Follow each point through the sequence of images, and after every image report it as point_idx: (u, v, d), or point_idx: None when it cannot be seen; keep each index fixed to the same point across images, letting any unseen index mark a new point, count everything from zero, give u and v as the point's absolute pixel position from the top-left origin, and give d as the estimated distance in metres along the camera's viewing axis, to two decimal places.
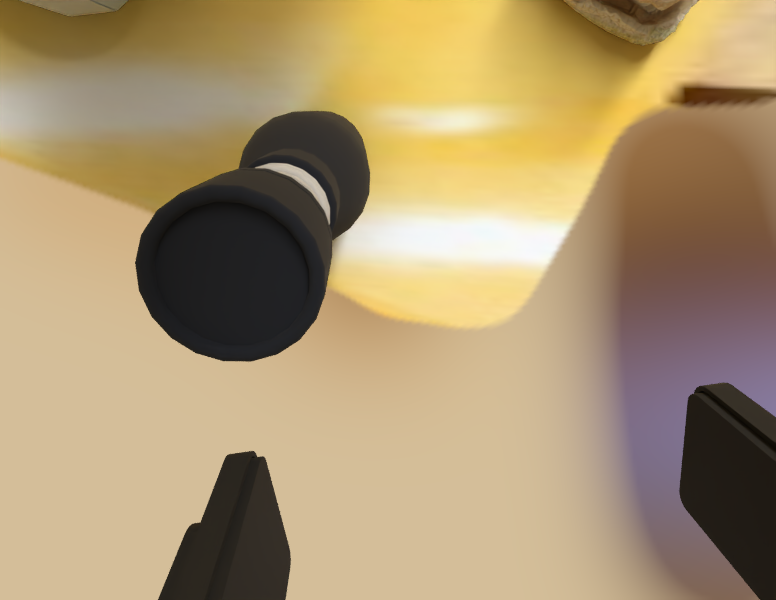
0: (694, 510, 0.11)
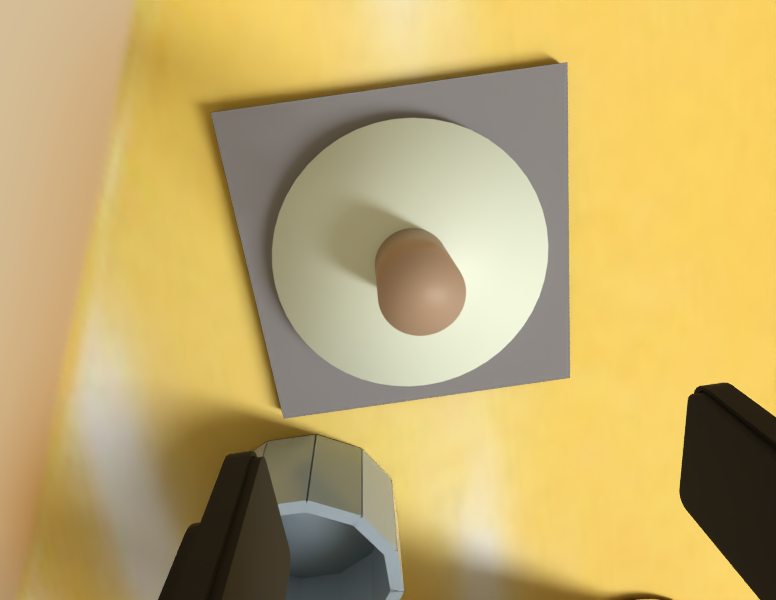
0: (694, 510, 0.11)
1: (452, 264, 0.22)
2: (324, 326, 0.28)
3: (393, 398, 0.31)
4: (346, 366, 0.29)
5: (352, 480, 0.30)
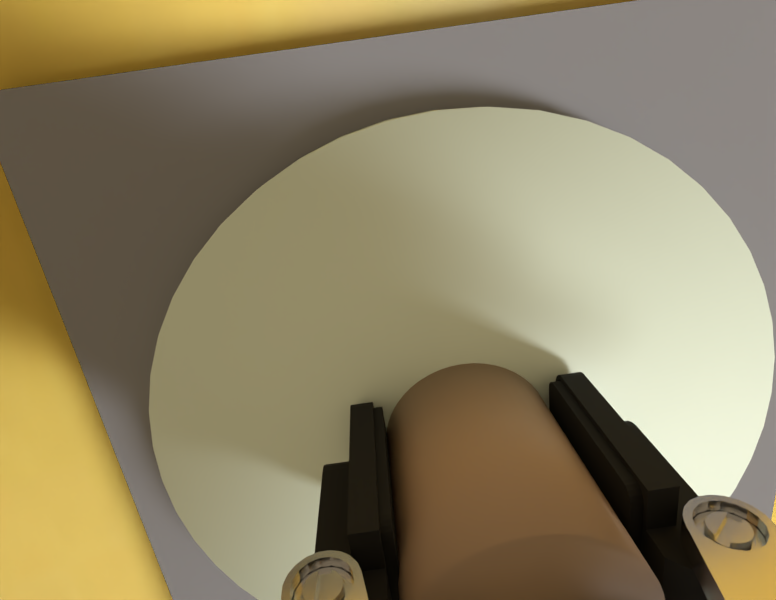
0: None
1: (636, 561, 0.07)
2: (277, 556, 0.13)
3: None
4: None
5: None
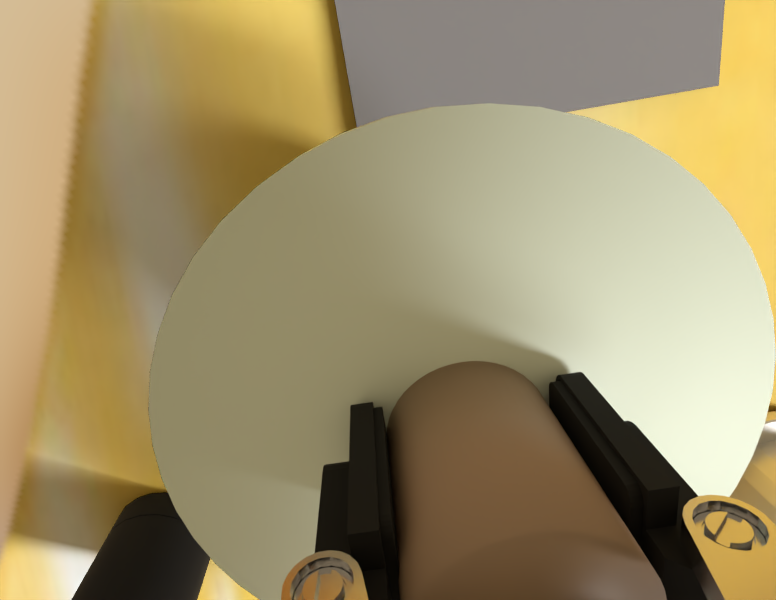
0: None
1: (638, 558, 0.07)
2: (277, 554, 0.13)
3: None
4: None
5: None
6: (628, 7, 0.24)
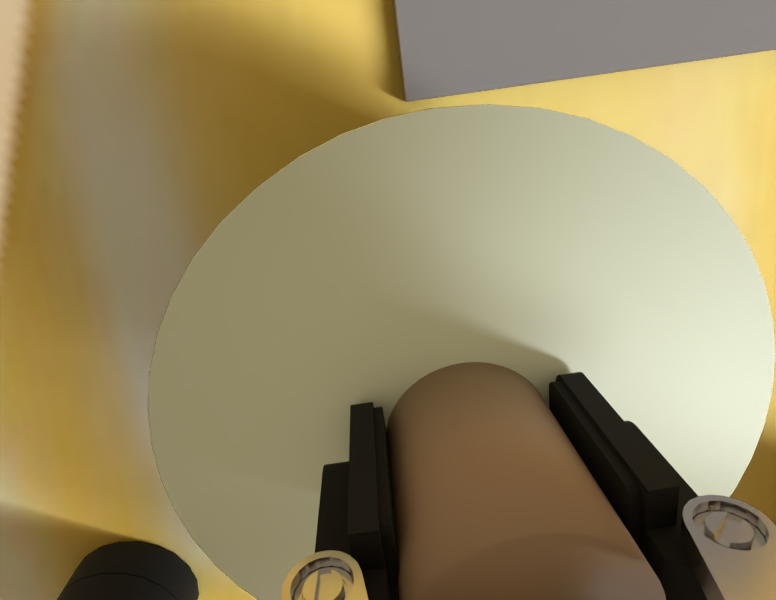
0: None
1: (637, 560, 0.07)
2: (276, 555, 0.13)
3: (595, 66, 0.18)
4: None
5: None
6: None
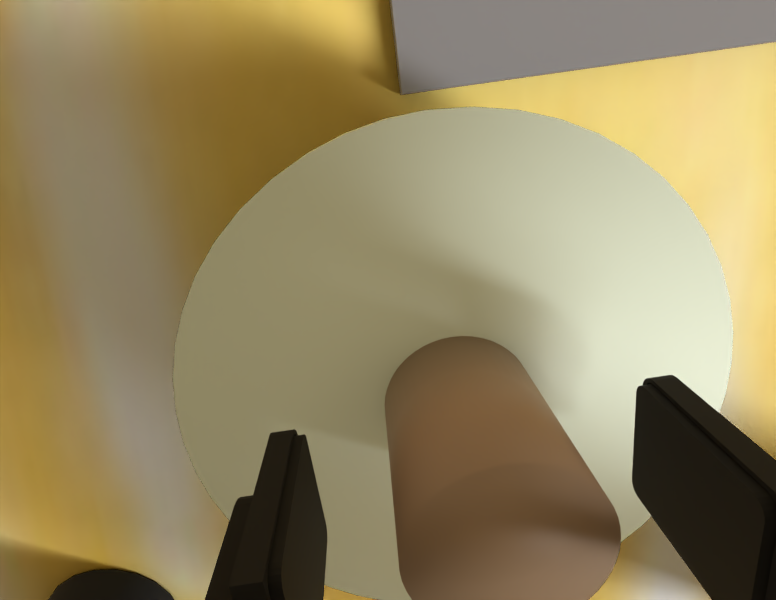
0: (644, 497, 0.11)
1: (594, 488, 0.09)
2: None
3: (610, 55, 0.17)
4: (330, 576, 0.16)
5: None
6: None
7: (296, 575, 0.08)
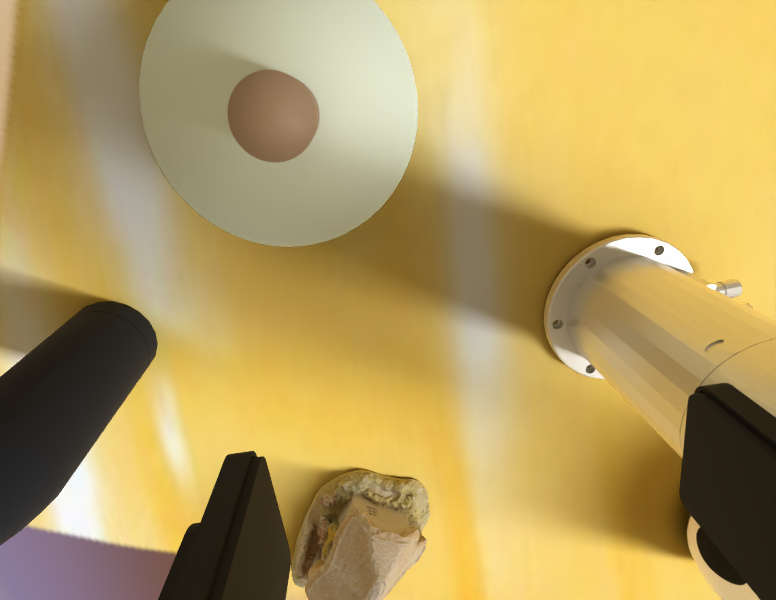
0: (694, 510, 0.11)
1: (298, 83, 0.23)
2: (202, 183, 0.29)
3: None
4: (229, 226, 0.30)
5: None
6: None
7: None
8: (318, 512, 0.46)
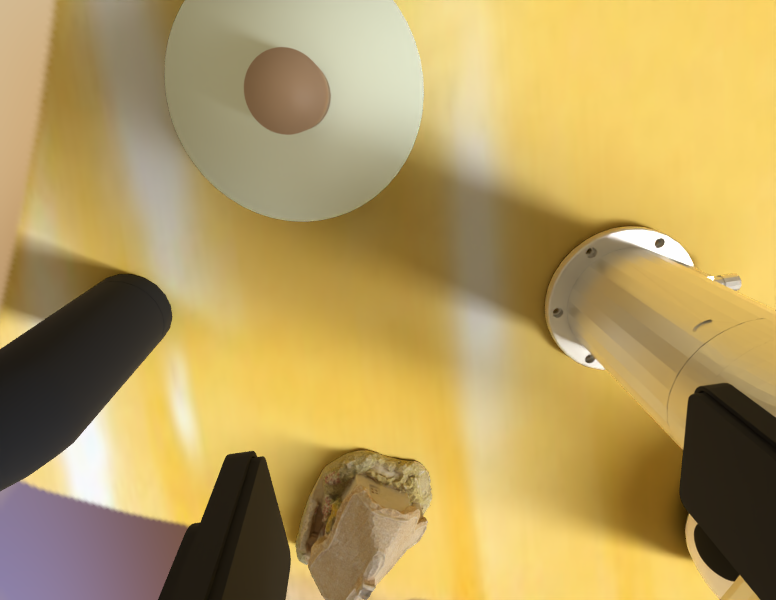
0: (694, 510, 0.11)
1: (310, 60, 0.25)
2: (219, 157, 0.31)
3: None
4: (242, 199, 0.32)
5: None
6: None
7: None
8: (323, 490, 0.47)
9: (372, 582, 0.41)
